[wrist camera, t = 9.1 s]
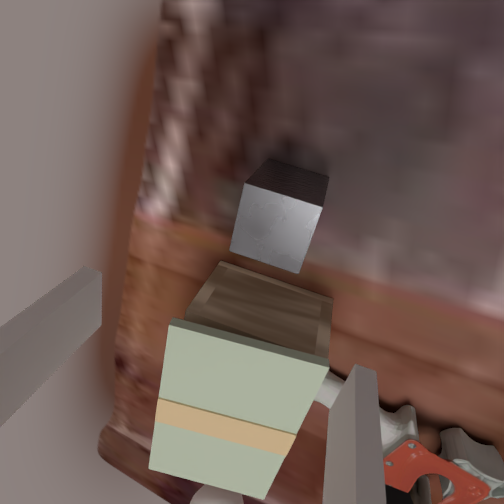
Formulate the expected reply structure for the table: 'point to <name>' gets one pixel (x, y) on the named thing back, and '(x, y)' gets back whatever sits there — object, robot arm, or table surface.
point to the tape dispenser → (430, 457)
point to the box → (263, 310)
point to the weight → (278, 214)
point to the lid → (230, 407)
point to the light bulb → (216, 496)
